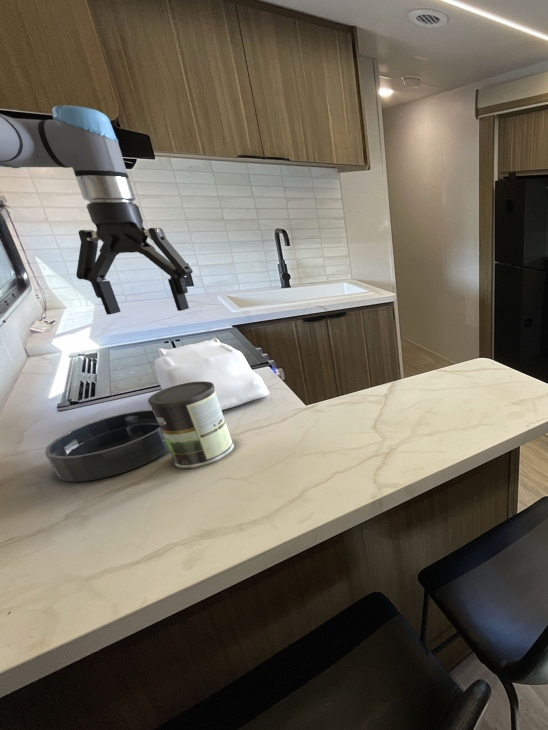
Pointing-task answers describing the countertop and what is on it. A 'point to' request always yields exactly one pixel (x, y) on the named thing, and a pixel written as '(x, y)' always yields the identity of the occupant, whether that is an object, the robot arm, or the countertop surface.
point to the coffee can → (192, 423)
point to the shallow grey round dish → (107, 447)
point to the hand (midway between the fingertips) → (149, 311)
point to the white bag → (211, 371)
